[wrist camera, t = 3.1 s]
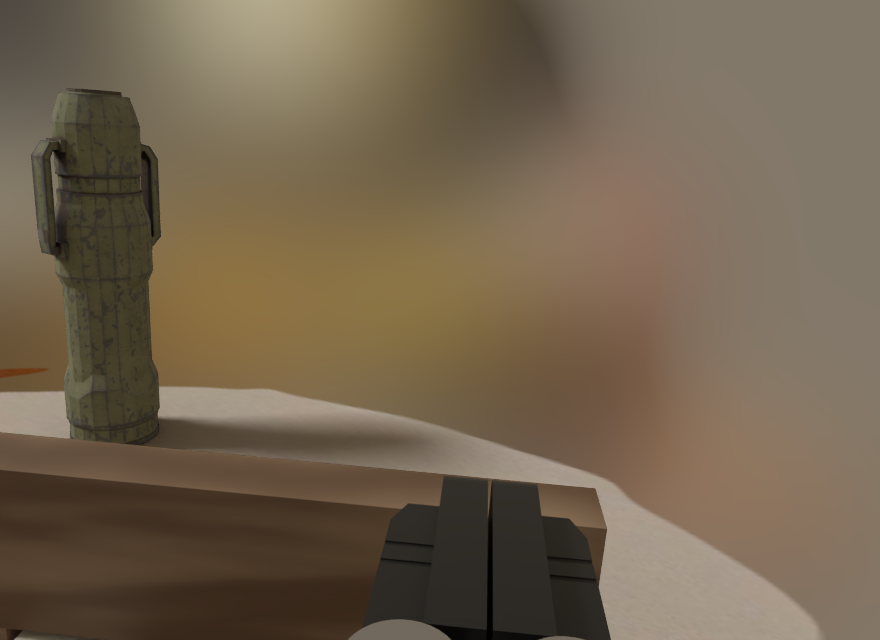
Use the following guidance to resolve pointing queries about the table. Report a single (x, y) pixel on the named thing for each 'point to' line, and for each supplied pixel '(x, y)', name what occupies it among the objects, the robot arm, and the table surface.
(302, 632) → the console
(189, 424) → the table surface
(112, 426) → the thermos
